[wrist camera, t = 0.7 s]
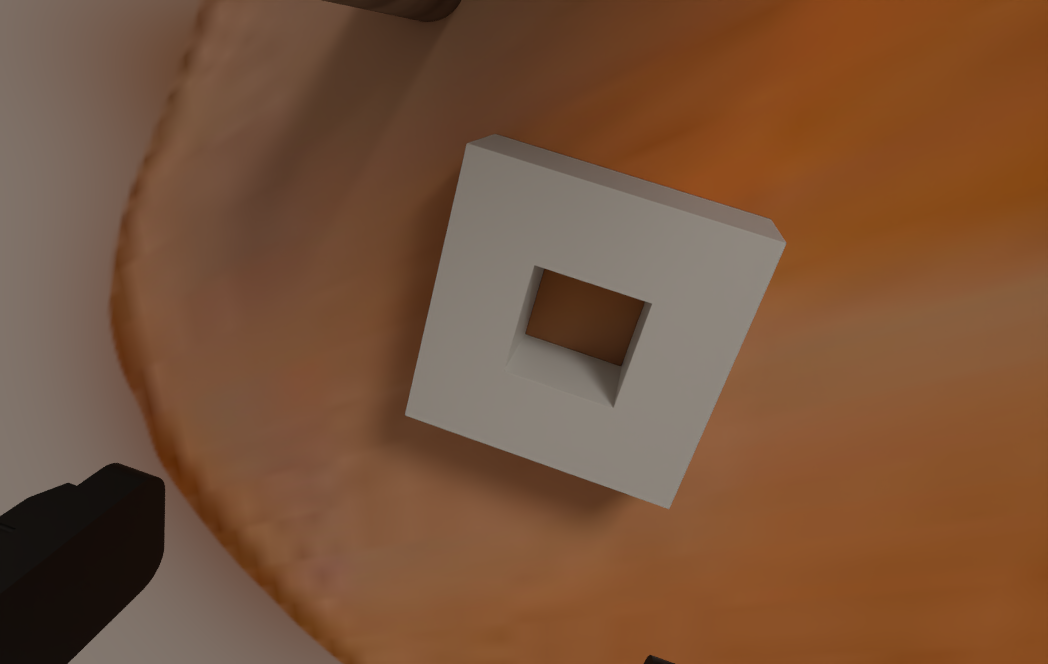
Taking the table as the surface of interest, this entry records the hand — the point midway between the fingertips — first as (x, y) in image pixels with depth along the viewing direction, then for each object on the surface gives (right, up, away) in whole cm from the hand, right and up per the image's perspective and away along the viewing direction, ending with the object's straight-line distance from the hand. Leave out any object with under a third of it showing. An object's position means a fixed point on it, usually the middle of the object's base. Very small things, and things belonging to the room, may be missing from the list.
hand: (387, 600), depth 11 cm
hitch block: (+5, +6, +25) cm, 26 cm away
